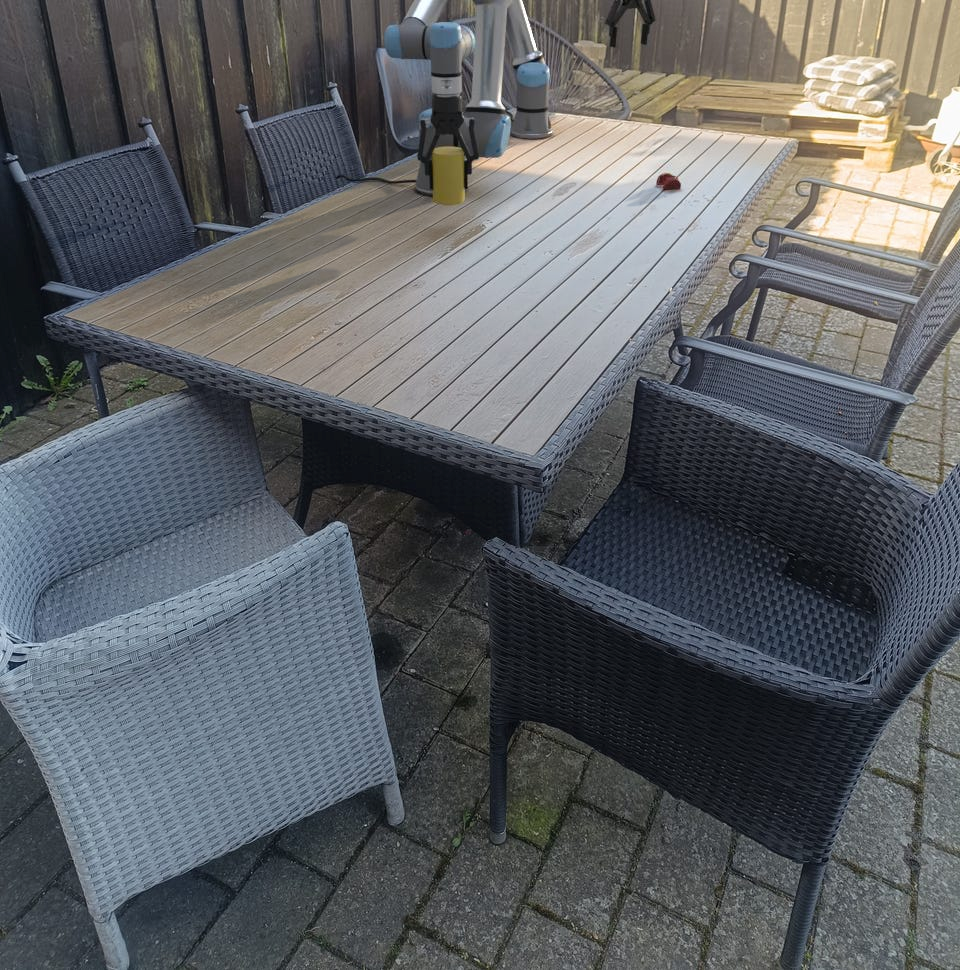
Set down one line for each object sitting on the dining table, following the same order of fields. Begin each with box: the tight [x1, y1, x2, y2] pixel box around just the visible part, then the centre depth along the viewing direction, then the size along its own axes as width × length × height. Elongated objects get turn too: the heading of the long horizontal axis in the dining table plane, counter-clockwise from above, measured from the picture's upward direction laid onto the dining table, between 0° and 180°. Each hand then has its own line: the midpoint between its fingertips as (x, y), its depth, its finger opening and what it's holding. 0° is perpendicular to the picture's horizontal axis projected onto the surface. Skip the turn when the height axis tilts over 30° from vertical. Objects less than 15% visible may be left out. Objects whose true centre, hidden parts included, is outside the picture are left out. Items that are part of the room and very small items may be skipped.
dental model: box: [655, 172, 682, 192], centre depth 259 cm, size 6×4×8 cm
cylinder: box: [432, 146, 466, 206], centre depth 219 cm, size 8×8×13 cm
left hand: (448, 187), depth 221 cm, fingers closed on cylinder, 8 cm apart
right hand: (628, 45), depth 308 cm, fingers open, 13 cm apart
